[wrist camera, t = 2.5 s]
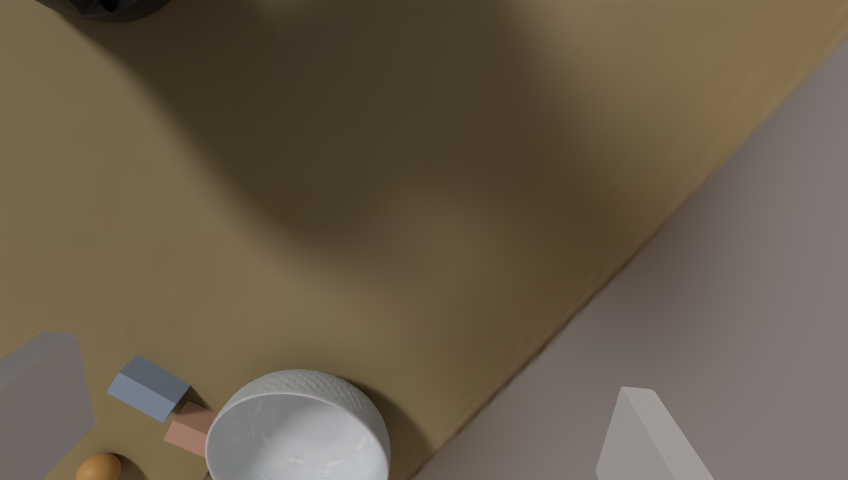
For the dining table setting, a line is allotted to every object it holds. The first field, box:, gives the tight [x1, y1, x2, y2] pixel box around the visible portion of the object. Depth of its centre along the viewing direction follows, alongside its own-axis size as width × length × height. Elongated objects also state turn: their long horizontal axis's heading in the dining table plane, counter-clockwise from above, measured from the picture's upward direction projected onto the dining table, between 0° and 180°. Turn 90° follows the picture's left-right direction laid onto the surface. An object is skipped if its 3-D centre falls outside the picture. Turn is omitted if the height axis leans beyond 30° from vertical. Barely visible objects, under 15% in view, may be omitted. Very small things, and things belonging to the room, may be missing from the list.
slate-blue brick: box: [107, 355, 191, 423], centre depth 45 cm, size 6×3×3 cm, turn 53°
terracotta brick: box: [164, 401, 218, 458], centre depth 47 cm, size 6×3×3 cm, turn 60°
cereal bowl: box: [205, 369, 391, 480], centre depth 44 cm, size 17×17×7 cm
